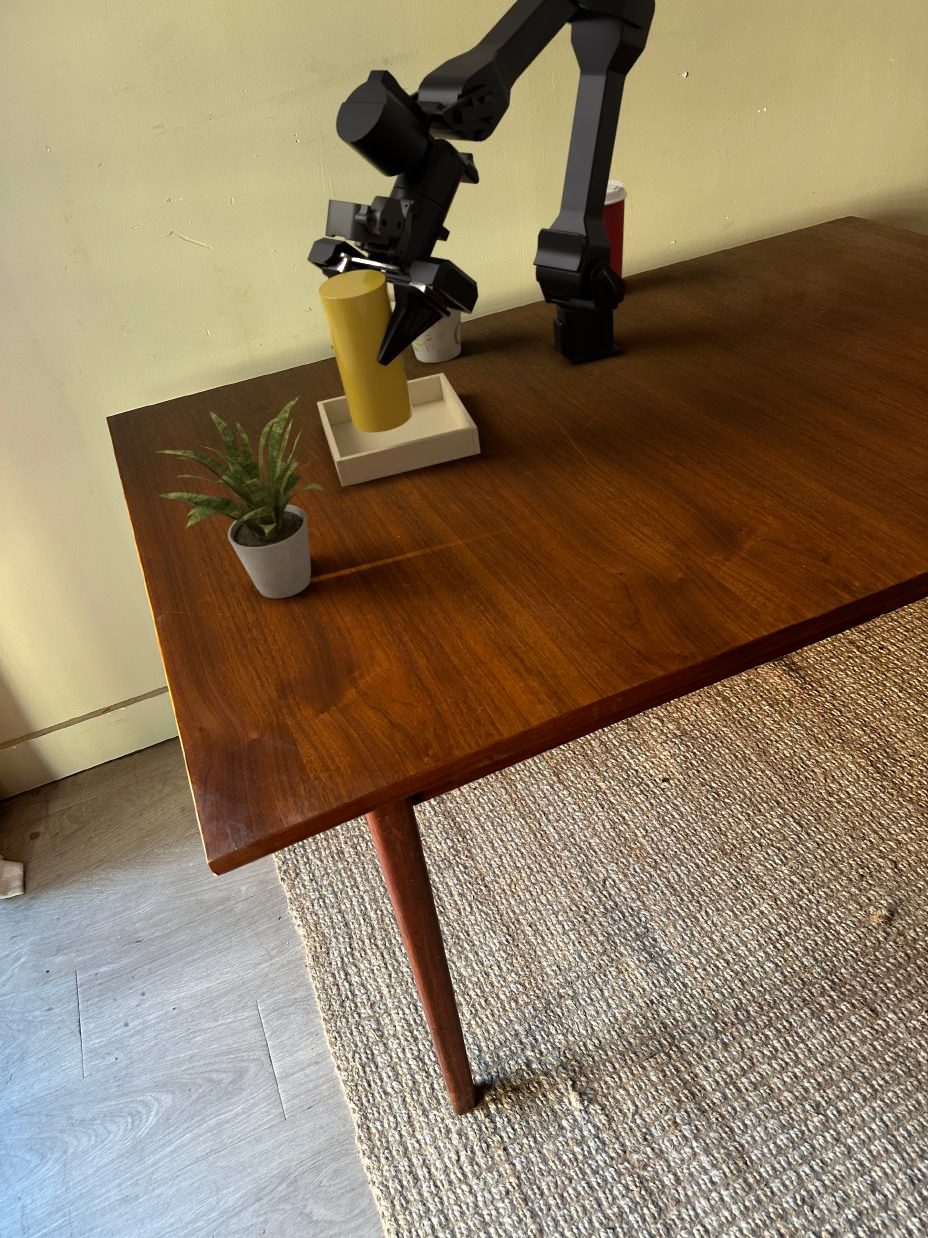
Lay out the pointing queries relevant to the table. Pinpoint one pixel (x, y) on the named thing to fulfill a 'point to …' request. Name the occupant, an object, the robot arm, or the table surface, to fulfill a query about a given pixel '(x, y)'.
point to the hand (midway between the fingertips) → (358, 357)
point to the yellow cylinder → (365, 349)
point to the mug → (439, 339)
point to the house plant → (258, 508)
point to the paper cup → (615, 222)
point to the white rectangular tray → (401, 434)
